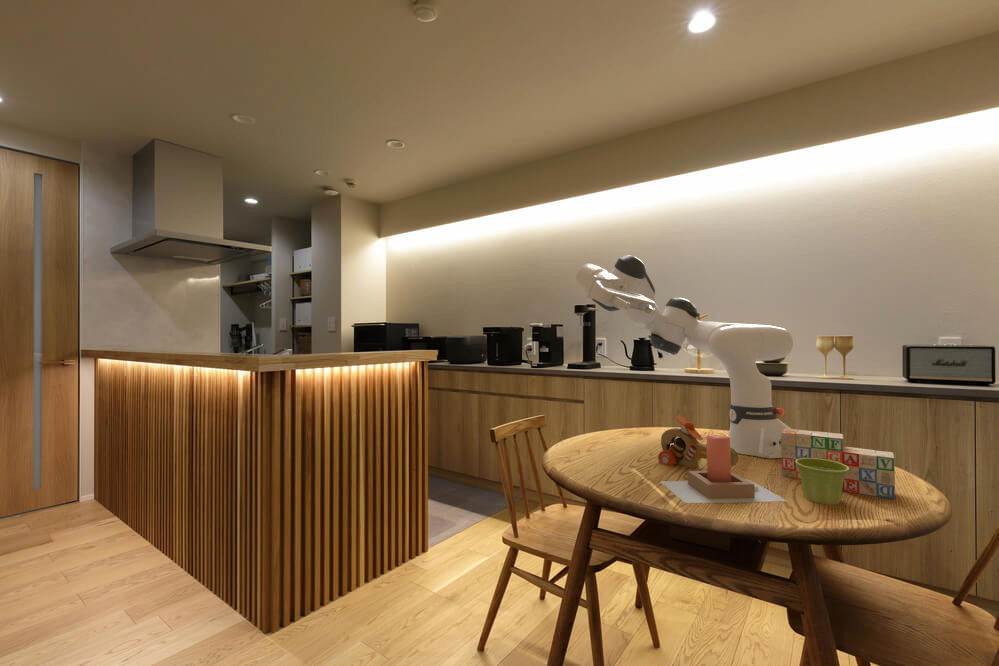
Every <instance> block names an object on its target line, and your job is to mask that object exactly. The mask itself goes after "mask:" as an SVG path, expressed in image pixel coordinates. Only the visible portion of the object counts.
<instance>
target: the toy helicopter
mask: <svg viewBox="0 0 999 666" xmlns="http://www.w3.org/2000/svg"><path fill="white" fill-rule="evenodd" d="M675 419H677V420H678V421H679V422H680V423H681V426H680V428H673V427H672V428H669V429H667V430H665V431H664V432H662V435H661V437H660V444H661V448H662V451H660V452H659V454H658V457H657V459H658V463H660V464H663V465H667V466H670V467H672V466H676V464H678V465H681V466H685V467H689V468H693V469H695V468H698V467H699V462H700V461H701V459H706V460H707V444H703V443H701V442H699V441H702V440H704V438H703V437H702V436H701V434H700V433H699V432H698V431H697V429H695V425H694V423H692V422H691V421H688V420H687V418H685V417H684V416H680V415H677V416H676V417H675ZM730 457H731V467H733V466H735V465H736V464H738V462H739V456H738V453H736V451H735V450H734V449H733V448H731V447H730Z"/></svg>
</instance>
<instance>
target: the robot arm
mask: <svg viewBox="0 0 999 666" xmlns="http://www.w3.org/2000/svg"><path fill="white" fill-rule="evenodd" d="M647 269H648V268H647V266H646V265H645V264H644V262H643V261H642V260H641V259H639V257H636V256H634V255H631V254H627V255H624V256H620V257H618V258H617V261H616V262H615V264H614V265H613V268H612V269H611V270H610V272H609V271H608V270H606V269H605V268H603V267H601V266H599V265H597V264H593V263H589V262H588V263H584V264H583V265H581V266H580V268H579V269H578V270H577V272H576V274H575V281H576V283H577V284H578V285H579V287H580V288H582V290H584V291H585V293H584V294H585V296H586V297H587V298H589V299H590V300H592V301H593V302H594V303H596V304H597V305H599V306H600V307H601V308H603V309H604V310H606V311H608V312H616V311H619V310H621V309H622V312H623V315H624V317H625V319H626V321H628V322H629V324H631V325H632V326H635V327H636V328H639V329H642V330H645V331H649V332H650V335H648V338H649V339H650V344H651V345H652V347H653V348H654V349H655V350H656V351H657V352H659V353H660V354H662V355H666V356H676V355H677V354H678V353H679V352H680V350H681V349H682V346H683V344H684V342H685V340H687V342H688V343H689V344H690V346H692V347H693V348H696V349H697V350H700V351H702V352H705V353H711V354H712V355H713V356H714V358H716V359H717V360H719V362H720V363H722V365H723V367H724V368H725V370H726V372H727V375H728V379H729V385H730V403H729V422H730V425H729V433H728V437H730V447H731V448H733V449H734V450H735V451H736V453H737V454H740V455H746V456H747V455H748V456H753V457H760V458H764V459H782V456H781V432H782V431H783V430H784V429H785V428H786V429H792V428H791V427H790V426H788V425H787V424H786V423H784V422H783V421H781V420H780V419H779V418H778V415H780V416H784V415H785V413H786V411H785V409H784V408H781V407H774V406H773V404H772V381H771V380H770V378H769V377H768V376H766V375H765V374H763V373H762V372H760V370H759V369H758V366H757V363H756V361H757V362H758V361H763V362H764V361H767V362H768V361H775V360H779V359H783V358H786V357H787V356H789V355H790V353H791V352H792V350H793V346H794V340H793V337H792V335H791V333H790V331H788V330H787V329H785V328H783V327H778V326H773V325H769V324H767V325H766V324H752V323H749V324H748V323H736V322H735V323H734V322H733V323H730V322H721V321H708V320H706V321H704V320H699V319H698V318H700V313H698V309H697V308H696V305H695V304H694V303H693V302H691V301H690V300H689V299H686V298H684V297H672V298H670V299H669V300H668V301H667V303H666V305H665V308H664V310H663V311H662V312H661V309H660V308H659V306H658V305H657V304H656V302H655V295H656V289H655V286H654V284H653V282H652V280H651V278H650V276H649V274H648V270H647Z"/></svg>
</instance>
